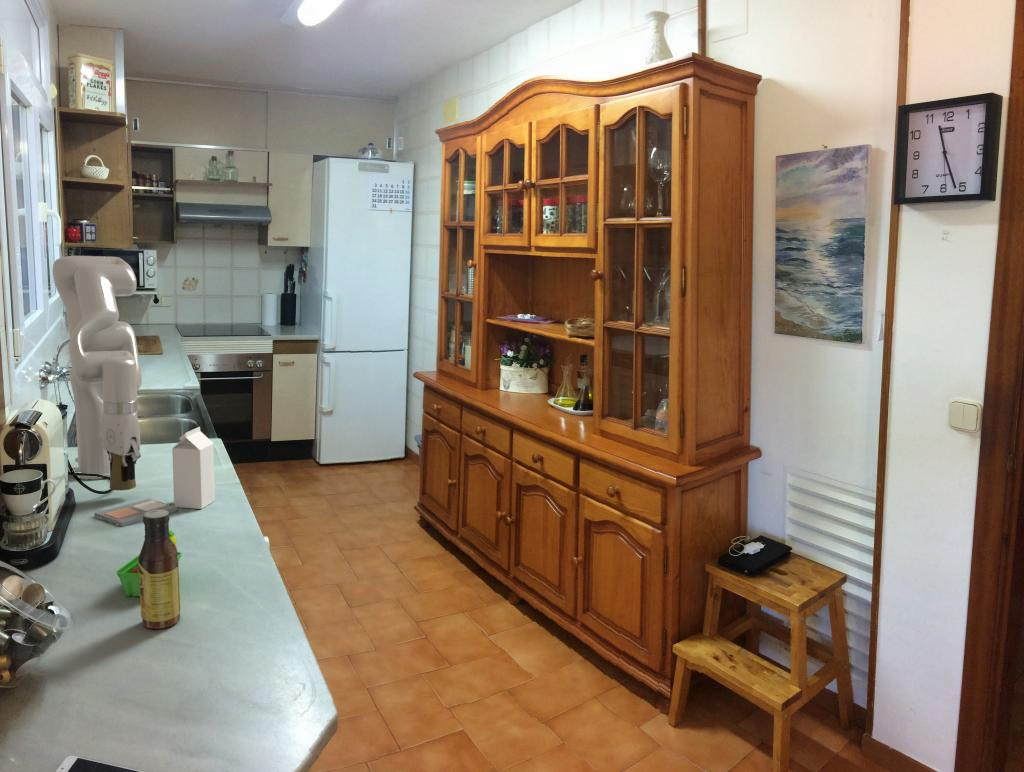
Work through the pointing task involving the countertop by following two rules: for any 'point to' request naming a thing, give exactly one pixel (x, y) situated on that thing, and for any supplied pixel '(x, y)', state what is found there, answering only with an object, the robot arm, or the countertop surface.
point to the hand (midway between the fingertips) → (122, 477)
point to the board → (132, 511)
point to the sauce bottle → (158, 573)
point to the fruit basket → (136, 573)
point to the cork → (119, 475)
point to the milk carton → (193, 471)
